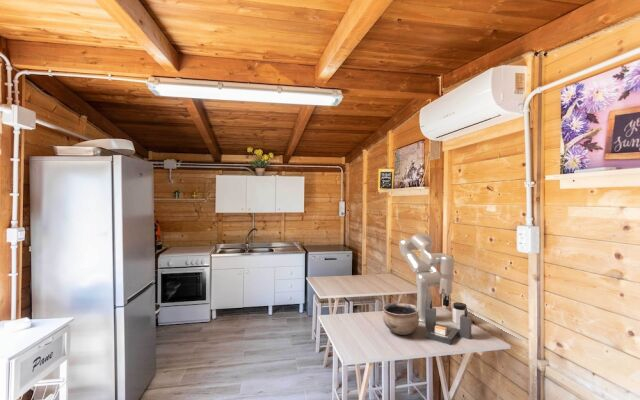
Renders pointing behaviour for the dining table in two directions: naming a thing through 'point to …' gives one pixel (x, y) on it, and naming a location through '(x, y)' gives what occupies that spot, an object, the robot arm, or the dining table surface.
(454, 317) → the jar
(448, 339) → the breaker panel
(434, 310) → the left plug adapter
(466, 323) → the right plug adapter
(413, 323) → the ceramic bowl
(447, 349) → the dining table surface
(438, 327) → the block
